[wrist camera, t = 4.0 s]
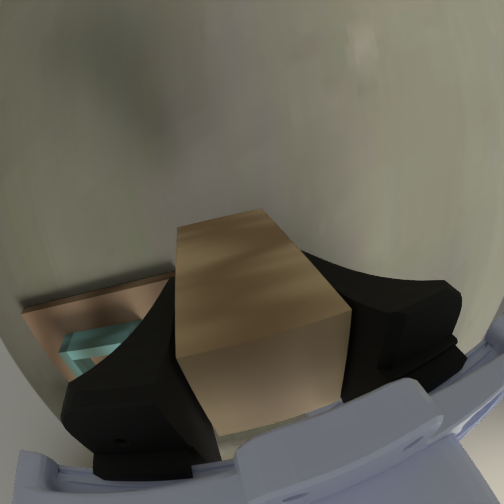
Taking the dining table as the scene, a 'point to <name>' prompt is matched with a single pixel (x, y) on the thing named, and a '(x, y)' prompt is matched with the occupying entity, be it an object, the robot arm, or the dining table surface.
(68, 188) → the dining table surface
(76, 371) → the socket board
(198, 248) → the peg
